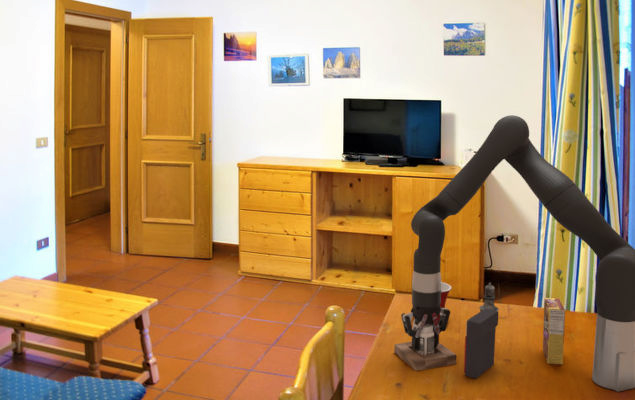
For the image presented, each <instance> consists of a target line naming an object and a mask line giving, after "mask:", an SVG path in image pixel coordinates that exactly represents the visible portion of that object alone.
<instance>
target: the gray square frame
mask: <svg viewBox="0 0 635 400" xmlns="http://www.w3.org/2000/svg"><path fill="white" fill-rule="evenodd" d="M393 348H394V350H393V351H394V354H395V353H396V354H397V355H398V356H397V355H396V354H395V355H396V356H397V357H399V358H400V359H401V360H402V359H403V360H404V361H403V360H402V361H403V362H404V363H406V364H407V365H408V366H409V367H410V366H411V369H413V370H414V371H415V372H418V370H419V371H425V370H428V369H434V368H441V367H446V366H451V365H455V364H457V354H456V353H455V352H453V351H452V350H450V349H449V348H448V347H446V346H445V345H443V344H442V343H441V342H439V344H438V345H437V347H436V348H434V354H430V355H424V356H419V355H418V354H417V353H416V350H415V349H414V348H413V347H412V341H407V342H402V343H401V342H400V343H395V344H394V347H393Z"/></svg>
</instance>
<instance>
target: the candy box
mask: <svg viewBox="0 0 635 400" xmlns="http://www.w3.org/2000/svg"><path fill="white" fill-rule="evenodd" d="M543 301H544V303H543V332H542V333H543V334H542V335H543V336H542V352H543V354H544V357H545V361H546V364H549V365H563V364H564V363H563V362H564V361H563V360H564V348H565V347H564V345H565V343H564V342H565V339H564V338H565V322H566V319H565V318H566V309H565V308H564V306H563V303H562V302H561V300H560V298H555V297H553V298H551V297H544V300H543Z"/></svg>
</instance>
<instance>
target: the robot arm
mask: <svg viewBox="0 0 635 400" xmlns="http://www.w3.org/2000/svg"><path fill="white" fill-rule="evenodd" d="M529 137H530V128H529V125H528V123H527V122H526V120H525V119H524V118H523V117H521V116H518V115H510V114H509V115H505V116H503V117H502V118H500V119H498V120H497V122H495V124H494V125H493V128H492V129H491V131H490V132H489V134H488V136H487V137H486V138H485V140H484V141H483V143H482V145H480V147H479V148H478V150H477V151H476V152H475V154H474V155H473V156H472V157H471V158H470V160H469V161H468V162H467V163H466V164H465V165H464V166H463V167H462V168H461V169H460V171H458V173H456V175H455V176H454V177H453V178H452V179H451V180H450V181H449V182H448V183H447V184H446V186H444V187H443V189H442V190H440V192H439V194H438V195H437V196H435V197H433V198H432V199H431V200H429V201H428V202H427V203H426V204H424V205H423V206H422V207H420V208H419V209H418V210H417V212H415V213H414V215H413V217H412V219H411V223H410V225H411V226H410V228H411V230H412V231H413V233H414V234H415V235H416V236H418V244H417V248H415V250H414V253H413V265H412V266H413V272H412V280H411V282H412V284H411V286H412V287H411V305H412V308H411V309H410V312H408V313H405V312H403V313H401V315H400V316H401V317H400V318H401V320H402V324H403V329H404V333H405V334H406V335H408V336H409V337H411V342H412V347H413V348H414V349H415V350H416V351H418V350H420V337H419V336H420V333H421V330H423V327H424V325H427V324H432V325H433V332H434V348H436V347H437V345H438V344H439V343H440V333H442V332H446V330H447V327H448V324H449V323H448V322H449V320H450V315H451V310H449V308H447V307H446V306H445V307H443V308H441V307H440V304H441V282H442V275H441V273H442V272H441V265H442V264H441V263H442V262H441V261H442V260H441V259H442V258H441V256H442V251H443V248H444V243H445V240H446V239H445V238H446V226H445V223H444V221H445V220H446V219H447V218H448V217H451V216H456V215H457V214H458V213H460V212H461V211H462V210H463V208H464V207H465V206H466V205H467V204H469V202H470V201H471V200H472V198H473V197H474V196H475V195H476V194H477V193H478V191H479V190H480V189H481V187H482V186H483V184H484V183H485V182H486V180H487V179H488V177H489V176H490V175H491V174H492V172H493V171H494V170H495V168H497V167H498V165H499V164H500V163H502V161H504V160H505V162H506V163H508V164H509V165H510V166H511V167H512V168H513V170H515V171H516V172H517V173H518V174H519V175H520V177H521V178H522V179H523V180H524V182H525V183H526V185H527V186H528V187H529V189H530V190H531V191H532V193H533V194H534V195H535V196H536V198H537V199H538V200H539V201H540V203H541V204H542V206H543V207H544V208H545V209H546V210H547V212H548V213H549V214H550V215H551V216H552V218H553V219H555V221H556V222H557V223H558V224H559V225H561V226H562V227H563V228H564V229H566V230H567V231H569V232H570V233H572V234H573V235H575V236H576V237H578V238H579V239H580V240H582V241H583V242H584V243H585V244H586V245H587V246H588V247H589V248H590V249H591V250H592V252H594V255H596V257H597V258H598V259H599V263H598V266H597V269H596V270H597V271H596V284H595V303H596V308H597V309H596V323H595V333H594V334H595V335H594V336H595V337H594V347H593V348H594V349H593V360H592V361H593V362H592V363H593V364H592V377H591V378H592V381H593V382H594V383H595V384H596V385H598V386H600V387H603V388H606V389H610V390H613V391H615V392H622V391H628V390H630V389H631V390H632V389H635V248H634V247H633V246H632V245H631V244H630V243H628V241H626V239H625V238H623V237H622V236H621V235H620V234H619V233H618V232H617V231H616V230H615V229H614V228H613V227H612V226H611V225H610V224H609V222H607V220H606V219H605V218H604V216H603V215H602V213H600V211H599V210H598V209H597V208H596V206H595V205H594V204H593V202H591V201H590V199H589V198H588V197H587V195H585V193H584V192H583V191H582V190H581V189H580V188H579V186H578V185H577V184H576V183H575V182H574V181H573V180H572V179H571V178H570V177H569V176H568V175H567V174H565V173H564V172H563V171H562V170H560V169H559V168H557V167H555V166H554V165H553V164H551V163H550V162H549V161H548V160H546V159H545V158H544V157H543V156H542V154H541V153H540V152H539V151H538V149H537V148H536V147H535V145H534V144H533V143H532V141H531V139H530V138H529ZM439 314H440V318H439V322H438V320H437V317H438V316H439ZM412 318H413V319H412ZM412 320H413V322H412ZM418 324H419V325H418Z"/></svg>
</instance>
